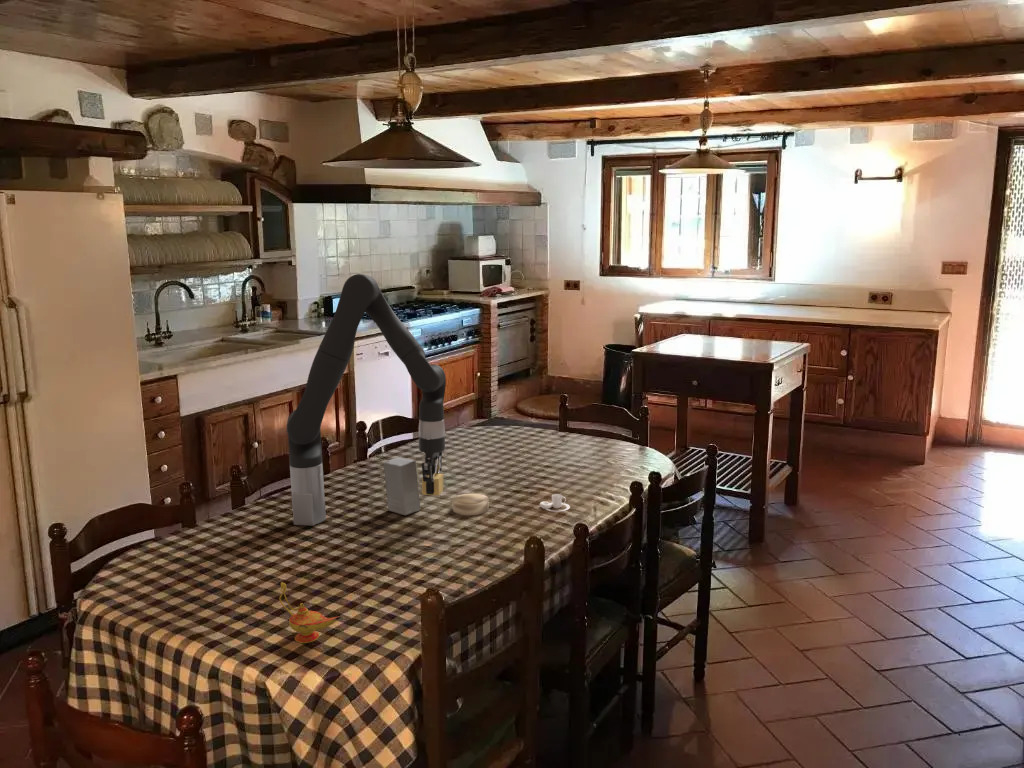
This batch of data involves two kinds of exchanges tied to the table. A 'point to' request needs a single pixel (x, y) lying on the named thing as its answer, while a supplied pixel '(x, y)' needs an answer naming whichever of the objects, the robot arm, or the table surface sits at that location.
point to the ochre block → (437, 485)
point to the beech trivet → (470, 504)
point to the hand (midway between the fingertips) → (432, 490)
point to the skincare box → (401, 485)
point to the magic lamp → (307, 621)
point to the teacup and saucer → (555, 503)
